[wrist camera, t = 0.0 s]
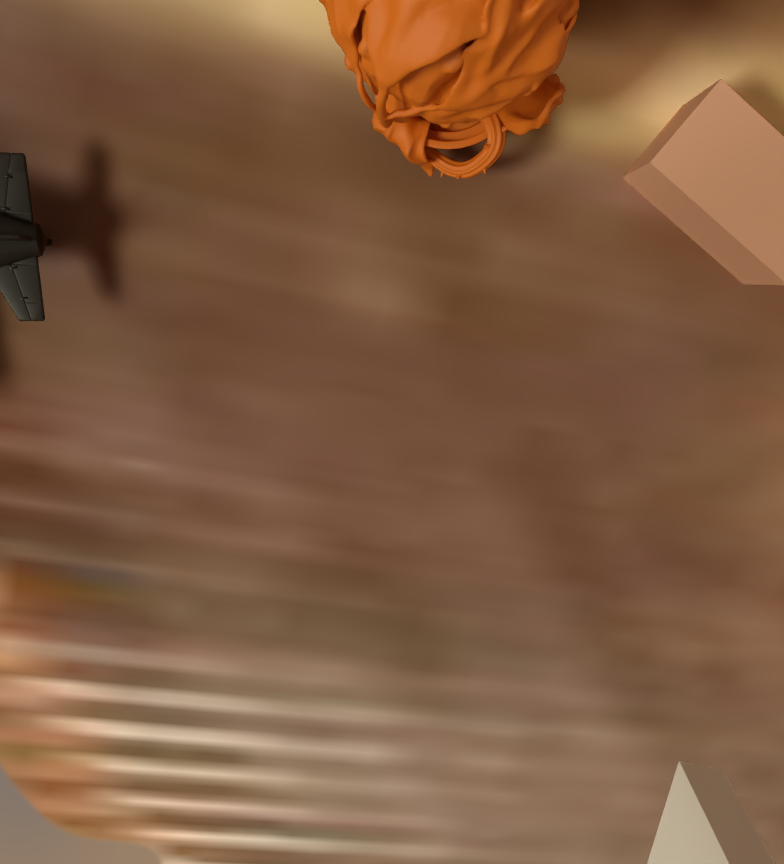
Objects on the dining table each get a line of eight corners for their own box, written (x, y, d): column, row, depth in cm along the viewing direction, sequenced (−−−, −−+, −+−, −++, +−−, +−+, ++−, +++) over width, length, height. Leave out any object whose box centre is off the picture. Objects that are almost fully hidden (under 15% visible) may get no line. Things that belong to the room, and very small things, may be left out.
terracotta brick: (621, 177, 35) (649, 162, 30) (681, 106, 34) (720, 78, 29) (741, 283, 36) (788, 285, 31) (804, 217, 35) (861, 208, 30)
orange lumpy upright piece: (599, 32, 33) (769, -232, 16) (486, 223, 36) (527, 175, 19) (414, -86, 33) (383, -494, 15) (313, 117, 35) (188, -35, 18)
